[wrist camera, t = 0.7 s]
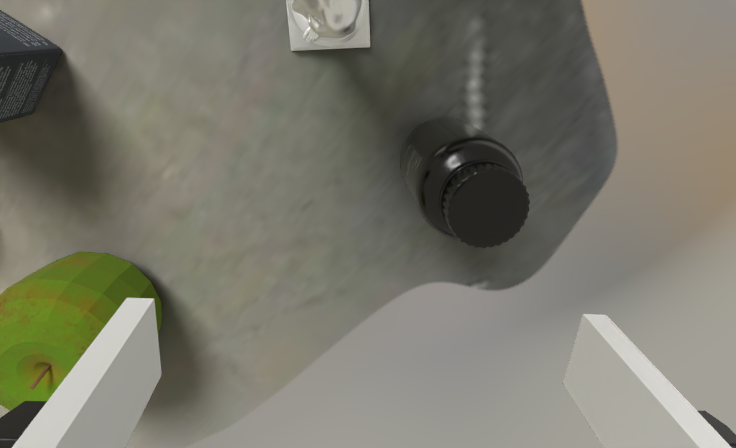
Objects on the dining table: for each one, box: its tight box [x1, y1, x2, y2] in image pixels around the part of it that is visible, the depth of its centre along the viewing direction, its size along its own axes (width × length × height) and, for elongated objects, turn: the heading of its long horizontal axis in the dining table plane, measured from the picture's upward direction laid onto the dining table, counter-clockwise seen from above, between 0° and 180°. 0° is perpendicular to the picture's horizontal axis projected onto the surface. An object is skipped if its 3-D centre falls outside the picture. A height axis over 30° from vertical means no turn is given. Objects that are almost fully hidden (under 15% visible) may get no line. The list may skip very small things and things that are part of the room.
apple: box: [0, 252, 162, 411], centre depth 35 cm, size 11×11×11 cm
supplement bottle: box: [400, 118, 530, 248], centre depth 32 cm, size 7×7×12 cm
